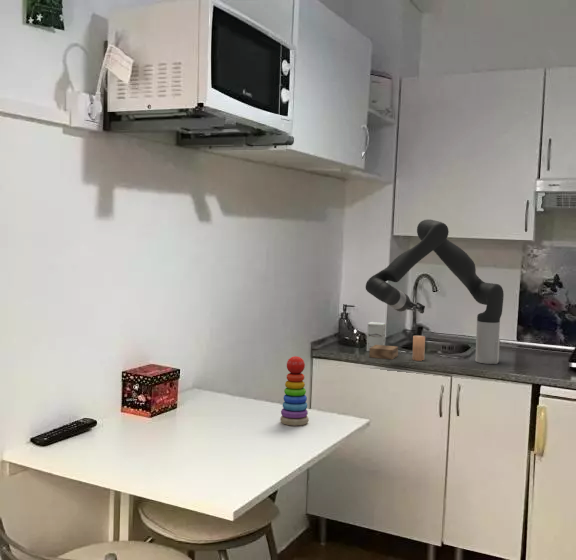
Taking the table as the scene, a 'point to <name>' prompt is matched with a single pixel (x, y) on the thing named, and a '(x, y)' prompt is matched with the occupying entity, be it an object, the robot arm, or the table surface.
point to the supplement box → (375, 334)
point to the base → (383, 352)
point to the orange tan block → (418, 348)
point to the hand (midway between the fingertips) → (413, 309)
